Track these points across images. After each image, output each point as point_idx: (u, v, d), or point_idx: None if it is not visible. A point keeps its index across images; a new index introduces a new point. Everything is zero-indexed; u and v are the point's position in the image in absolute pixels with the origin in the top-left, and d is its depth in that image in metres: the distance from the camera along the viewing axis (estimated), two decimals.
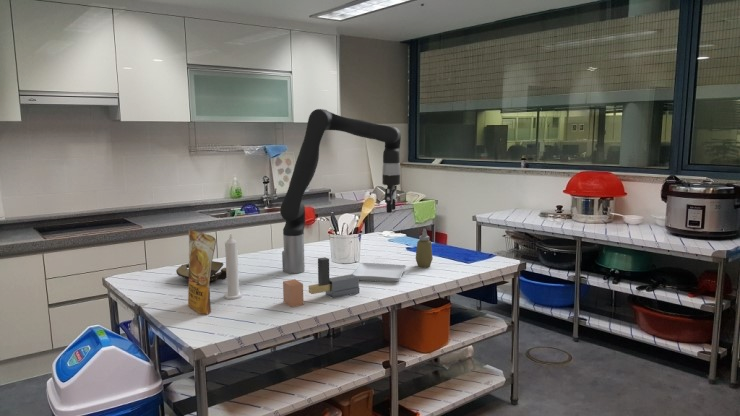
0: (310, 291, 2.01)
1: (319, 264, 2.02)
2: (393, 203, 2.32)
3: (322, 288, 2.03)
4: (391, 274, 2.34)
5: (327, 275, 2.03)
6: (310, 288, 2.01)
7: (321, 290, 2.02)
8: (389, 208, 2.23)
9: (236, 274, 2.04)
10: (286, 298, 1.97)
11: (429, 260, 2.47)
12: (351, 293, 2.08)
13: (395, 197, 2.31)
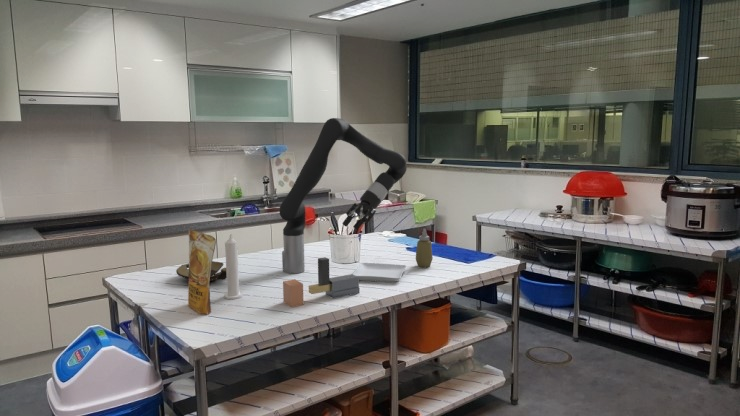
0: (310, 291, 2.01)
1: (319, 264, 2.02)
2: (349, 220, 2.11)
3: (322, 288, 2.03)
4: (391, 274, 2.34)
5: (327, 275, 2.03)
6: (310, 288, 2.01)
7: (321, 290, 2.02)
8: (359, 225, 2.03)
9: (236, 274, 2.04)
10: (286, 298, 1.97)
11: (429, 260, 2.47)
12: (351, 293, 2.08)
13: (356, 217, 2.12)
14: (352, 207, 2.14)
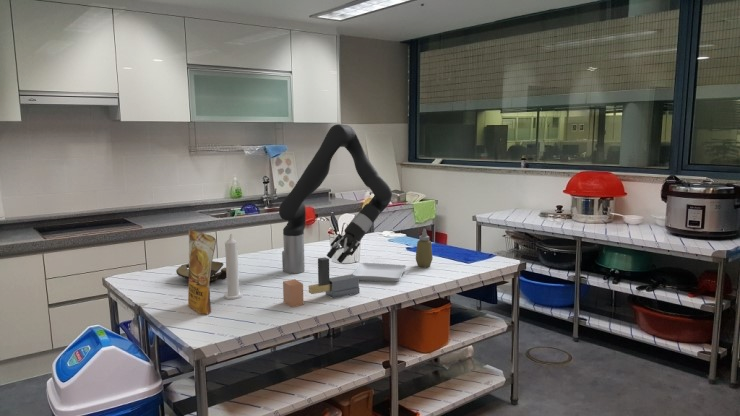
0: (310, 291, 2.01)
1: (319, 264, 2.02)
2: (333, 252, 2.09)
3: (322, 288, 2.03)
4: (391, 274, 2.34)
5: (327, 275, 2.03)
6: (310, 288, 2.01)
7: (321, 290, 2.02)
8: (343, 258, 2.01)
9: (236, 274, 2.04)
10: (286, 298, 1.97)
11: (429, 260, 2.47)
12: (351, 293, 2.08)
13: (340, 248, 2.10)
14: (336, 238, 2.12)
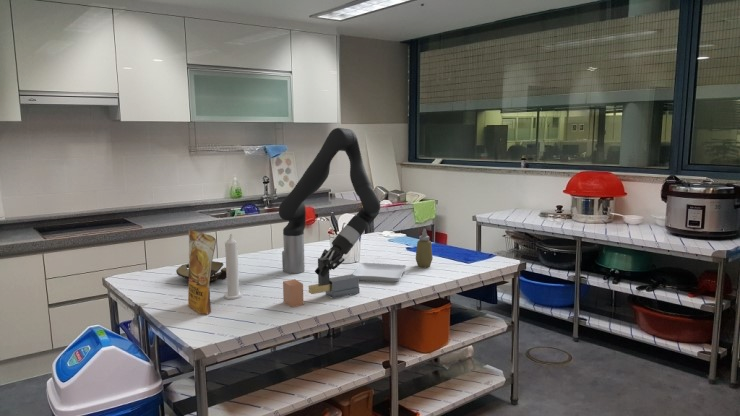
0: (310, 291, 2.01)
1: (319, 264, 2.02)
2: None
3: (322, 288, 2.03)
4: (391, 274, 2.34)
5: (327, 275, 2.03)
6: (310, 288, 2.01)
7: (321, 290, 2.02)
8: (325, 272, 2.01)
9: (236, 274, 2.04)
10: (286, 298, 1.97)
11: (429, 260, 2.47)
12: (351, 293, 2.08)
13: None
14: (323, 253, 2.08)
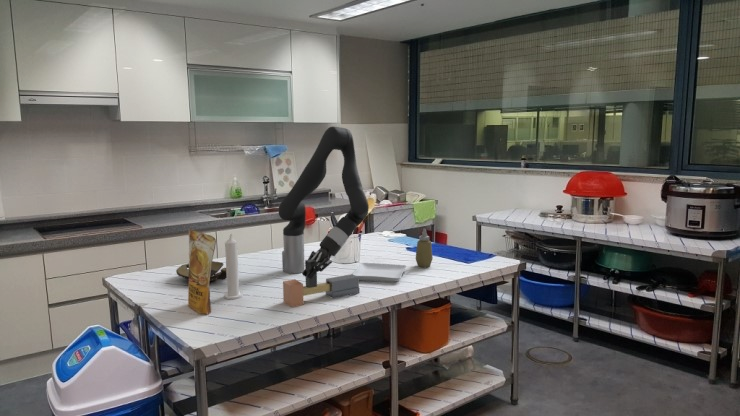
0: None
1: (307, 266, 1.99)
2: None
3: (310, 291, 2.00)
4: (391, 274, 2.34)
5: (314, 277, 2.00)
6: None
7: (308, 292, 2.00)
8: (312, 274, 1.98)
9: (236, 274, 2.04)
10: (286, 298, 1.97)
11: (429, 260, 2.47)
12: (351, 293, 2.08)
13: None
14: (311, 255, 2.05)
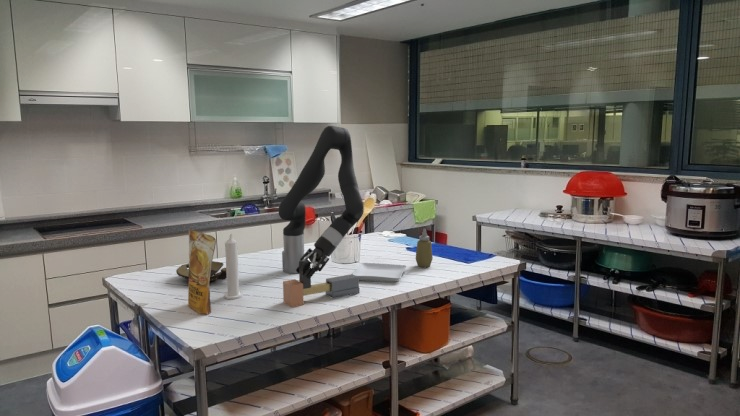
0: None
1: (300, 267, 1.98)
2: None
3: (303, 292, 1.98)
4: (391, 274, 2.34)
5: None
6: None
7: None
8: (311, 274, 1.95)
9: (236, 274, 2.04)
10: (286, 298, 1.97)
11: (429, 260, 2.47)
12: (351, 293, 2.08)
13: (310, 263, 2.03)
14: (306, 253, 2.05)
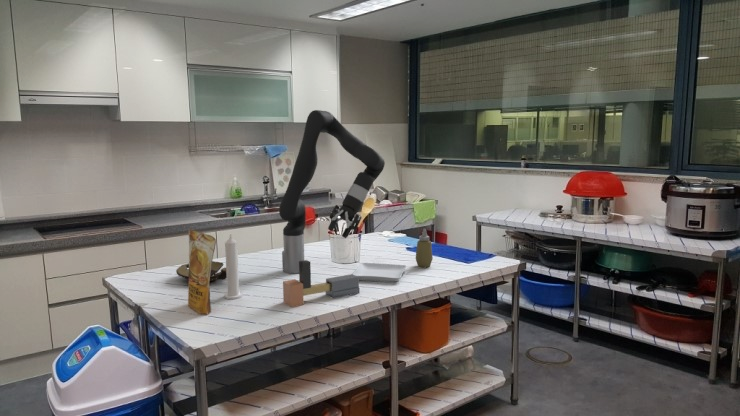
0: None
1: (300, 267, 1.98)
2: (334, 224, 2.13)
3: (303, 292, 1.98)
4: (391, 274, 2.34)
5: (308, 278, 1.99)
6: None
7: None
8: (347, 234, 2.06)
9: (236, 274, 2.04)
10: (286, 298, 1.97)
11: (429, 260, 2.47)
12: (351, 293, 2.08)
13: None
14: (334, 210, 2.13)
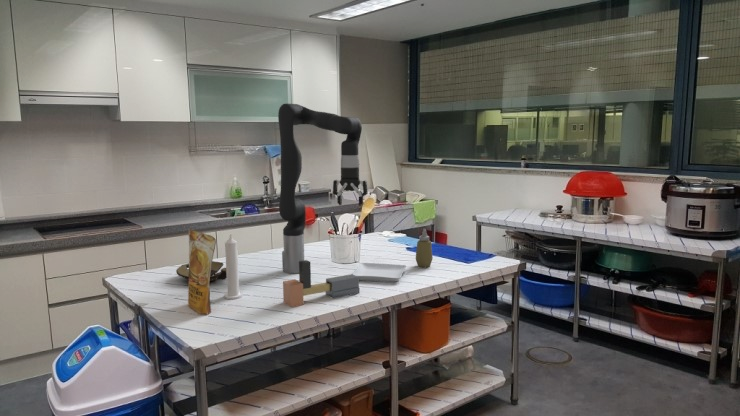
0: None
1: (300, 267, 1.98)
2: (341, 198, 2.20)
3: (303, 292, 1.98)
4: (391, 274, 2.34)
5: (308, 278, 1.99)
6: None
7: None
8: (362, 201, 2.18)
9: (236, 274, 2.04)
10: (286, 298, 1.97)
11: (429, 260, 2.47)
12: (351, 293, 2.08)
13: (343, 191, 2.21)
14: (335, 185, 2.19)
